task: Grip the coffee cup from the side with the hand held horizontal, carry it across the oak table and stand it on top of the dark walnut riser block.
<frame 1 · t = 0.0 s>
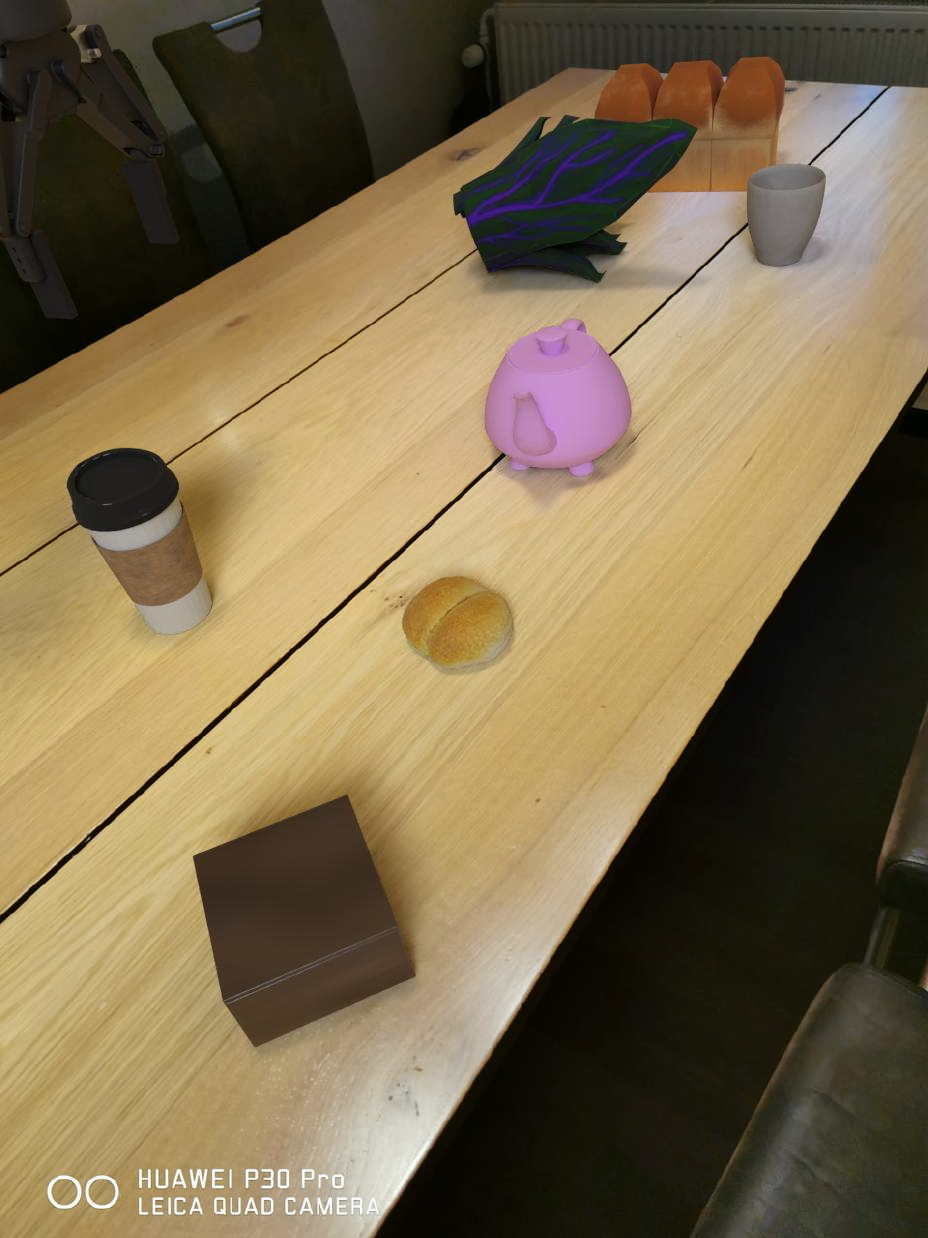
hand: (116, 277, 77), 25 cm above the table, tool pointing down, fingers open, 13 cm apart
decorative plant: (576, 265, 125), on the table
bread roll: (459, 635, 78), on the table
mug: (779, 252, 120), on the table
teapot: (557, 454, 94), on the table
bread: (687, 177, 142), on the table
coffee cup: (180, 613, 84), on the table
riser: (314, 940, 59), on the table
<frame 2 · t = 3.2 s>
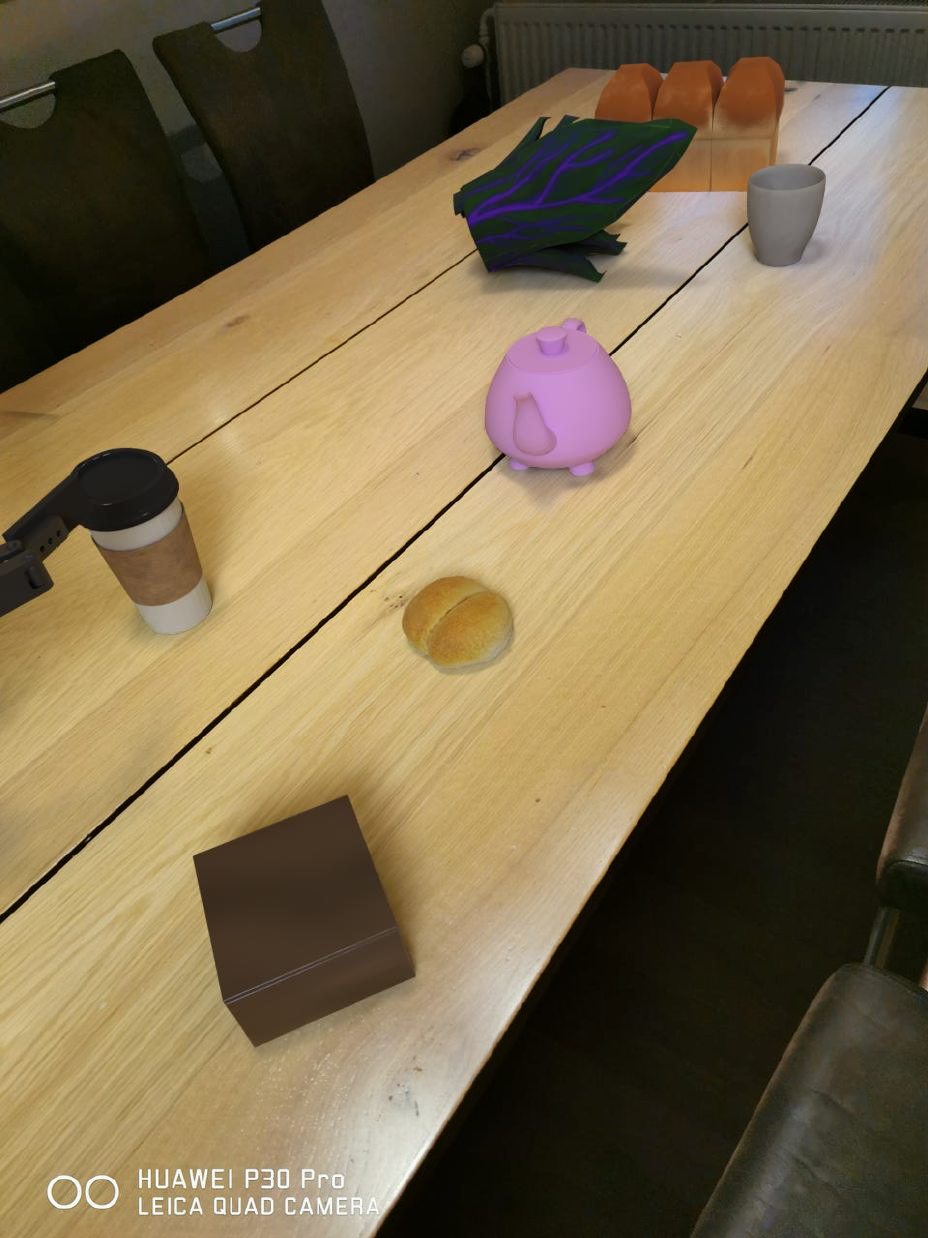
hand: (4, 482, 65), 20 cm above the table, tool horizontal, fingers open, 13 cm apart
nothing on the table moved.
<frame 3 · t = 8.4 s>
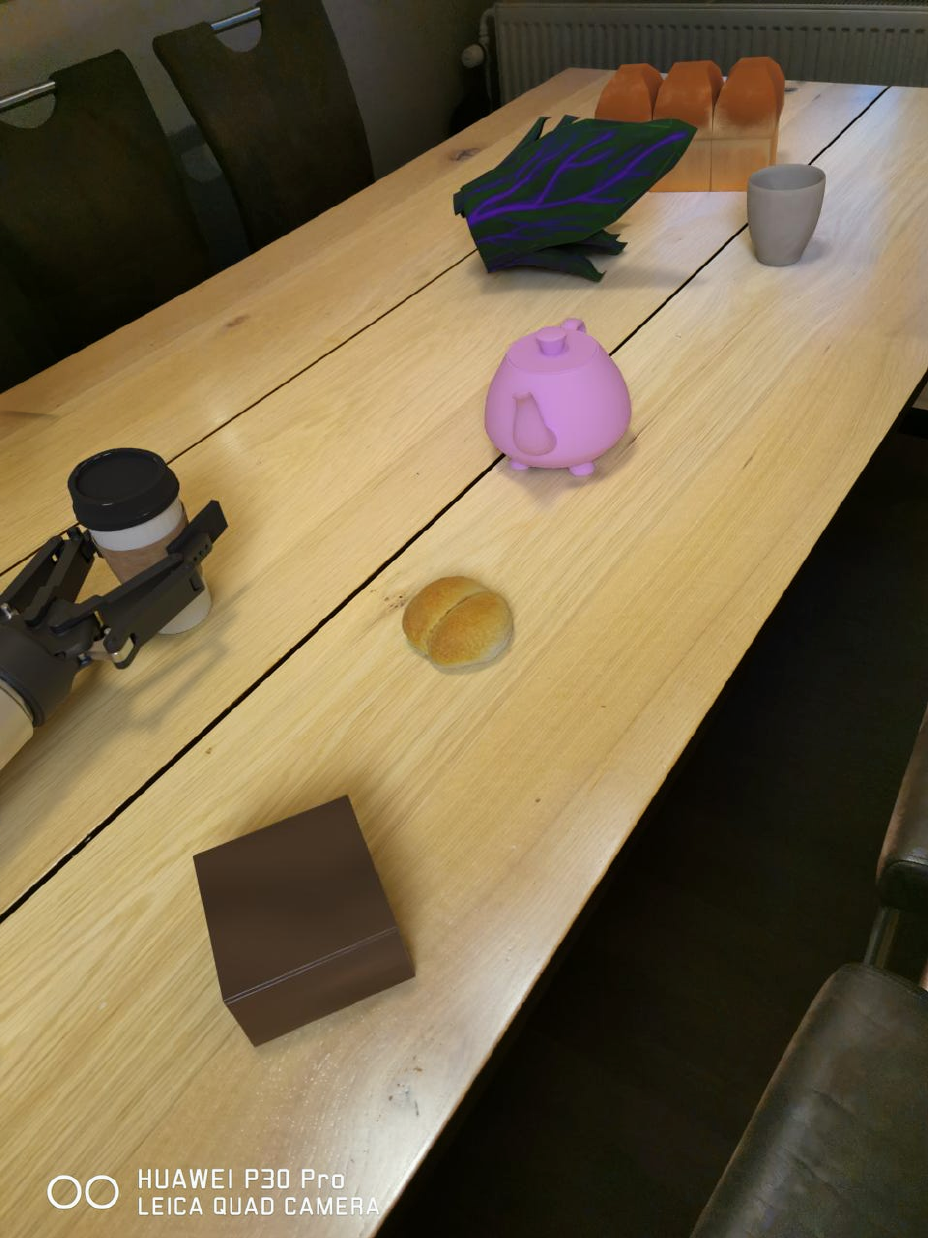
hand: (180, 506, 82), 8 cm above the table, tool horizontal, fingers closed on coffee cup, 8 cm apart
coffee cup: (180, 612, 84), on the table, touching gripper
everything else where it was.
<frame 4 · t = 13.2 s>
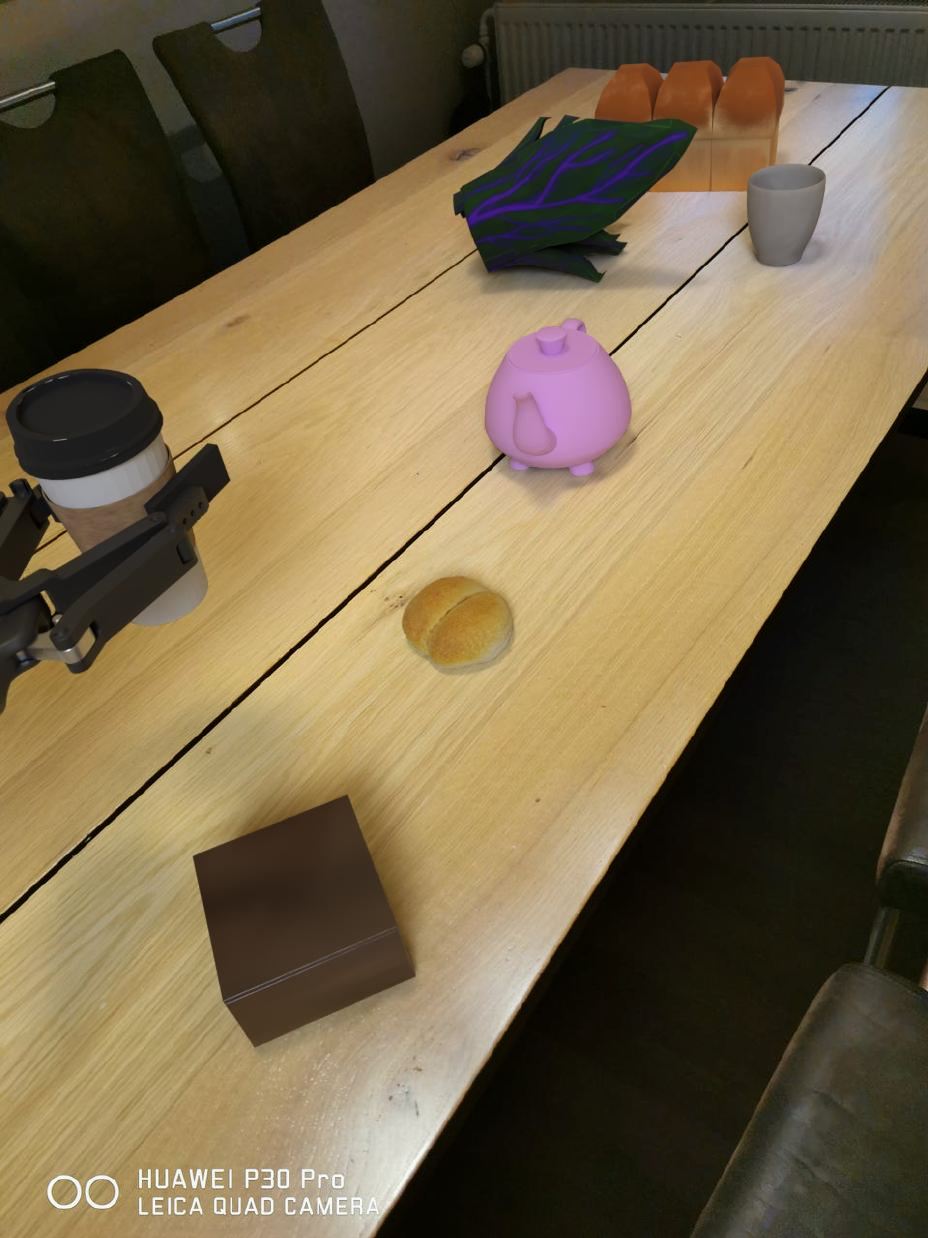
hand: (166, 454, 61), 22 cm above the table, tool horizontal, fingers closed on coffee cup, 8 cm apart
coffee cup: (166, 598, 63), point 14 cm above the table, touching gripper
everything else where it was.
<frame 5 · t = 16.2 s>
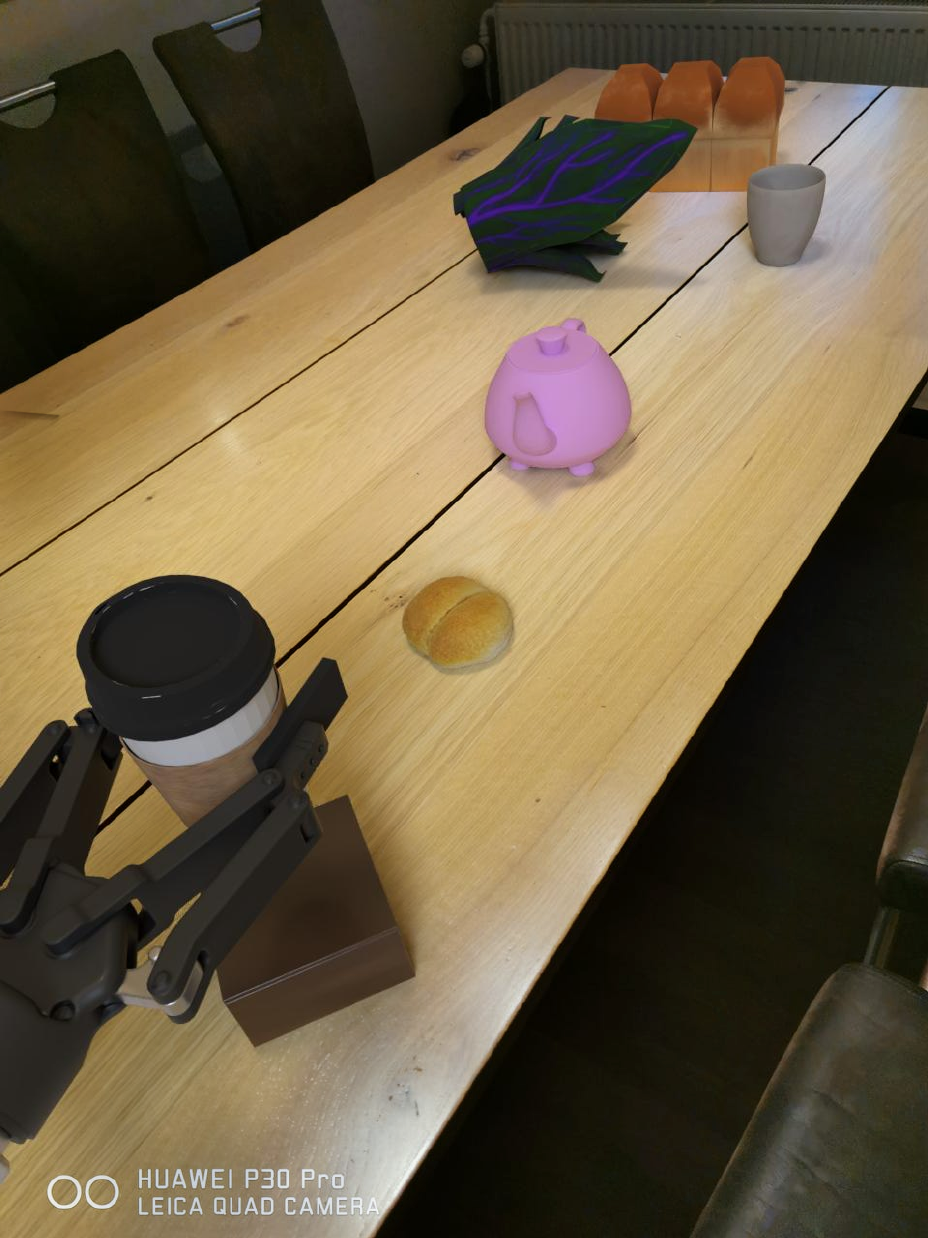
hand: (265, 661, 49), 20 cm above the table, tool horizontal, fingers closed on coffee cup, 8 cm apart
coffee cup: (260, 829, 51), point 12 cm above the table, touching gripper
everything else where it was.
when the fingers open (14 cm above the table, at t = 18.3 s): coffee cup stays where it is, resting on riser.
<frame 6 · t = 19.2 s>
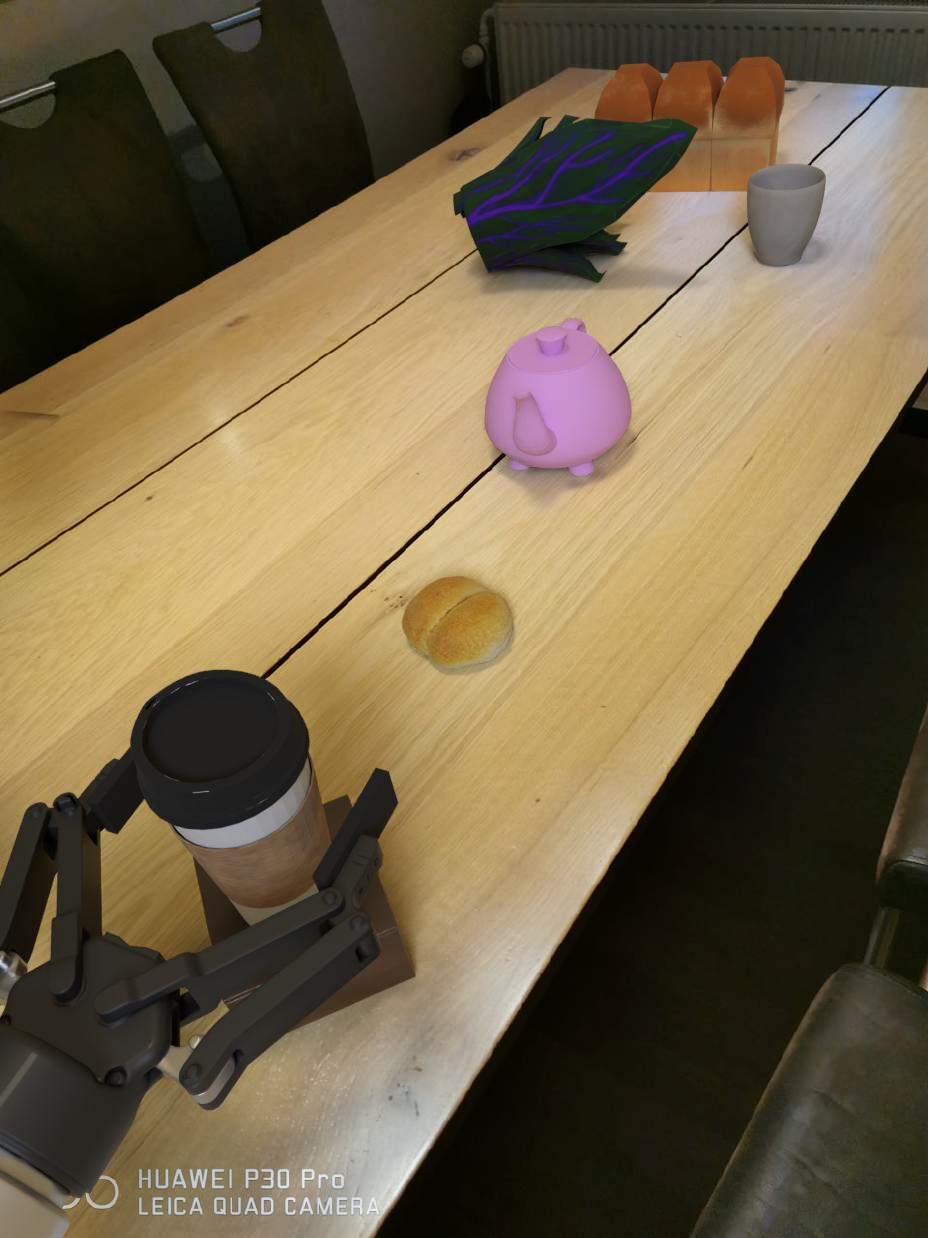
hand: (276, 753, 51), 15 cm above the table, tool horizontal, fingers open, 13 cm apart
coffee cup: (291, 892, 55), point 6 cm above the table, touching riser
everything else where it was.
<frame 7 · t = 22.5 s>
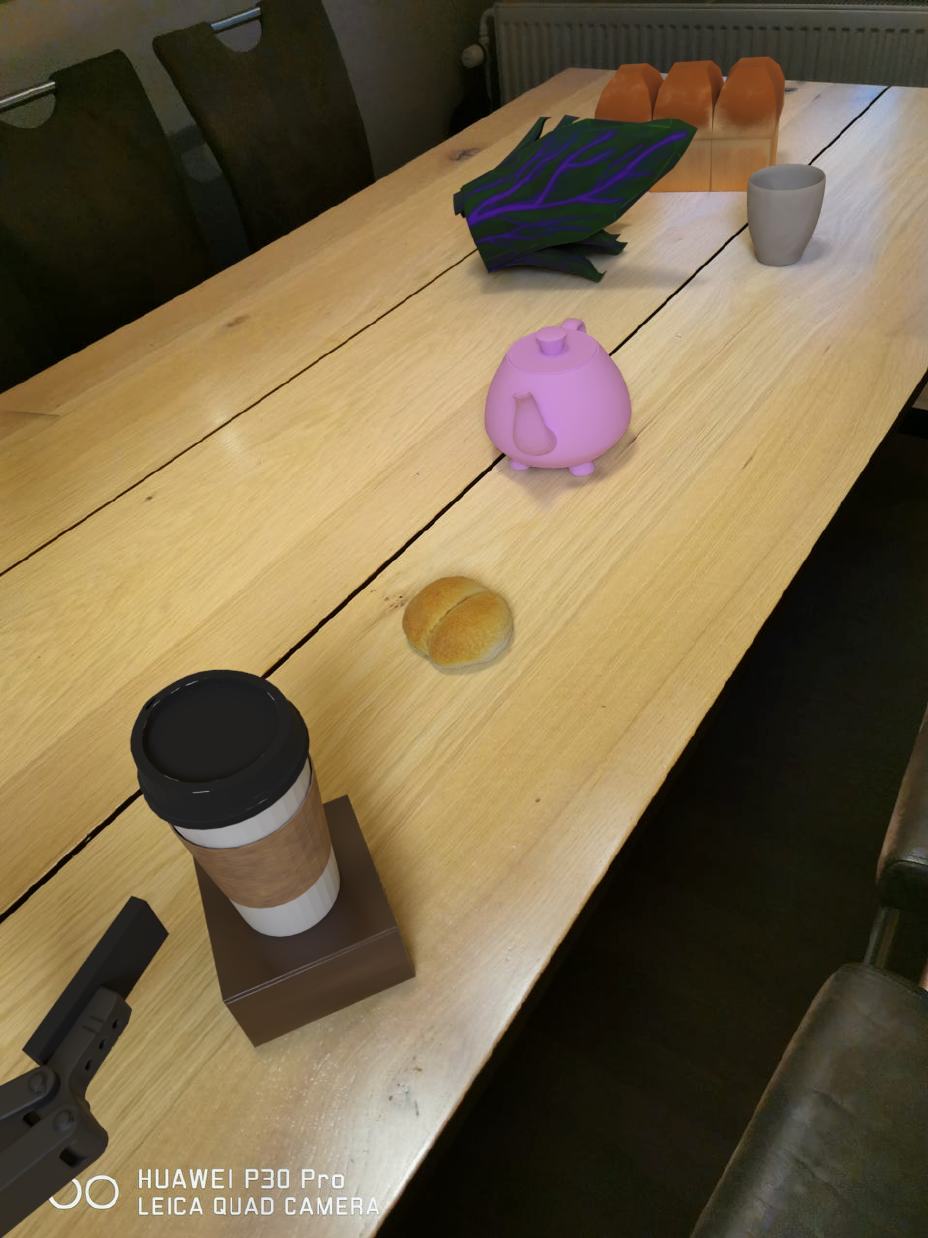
hand: (28, 867, 42), 20 cm above the table, tool horizontal, fingers open, 13 cm apart
nothing on the table moved.
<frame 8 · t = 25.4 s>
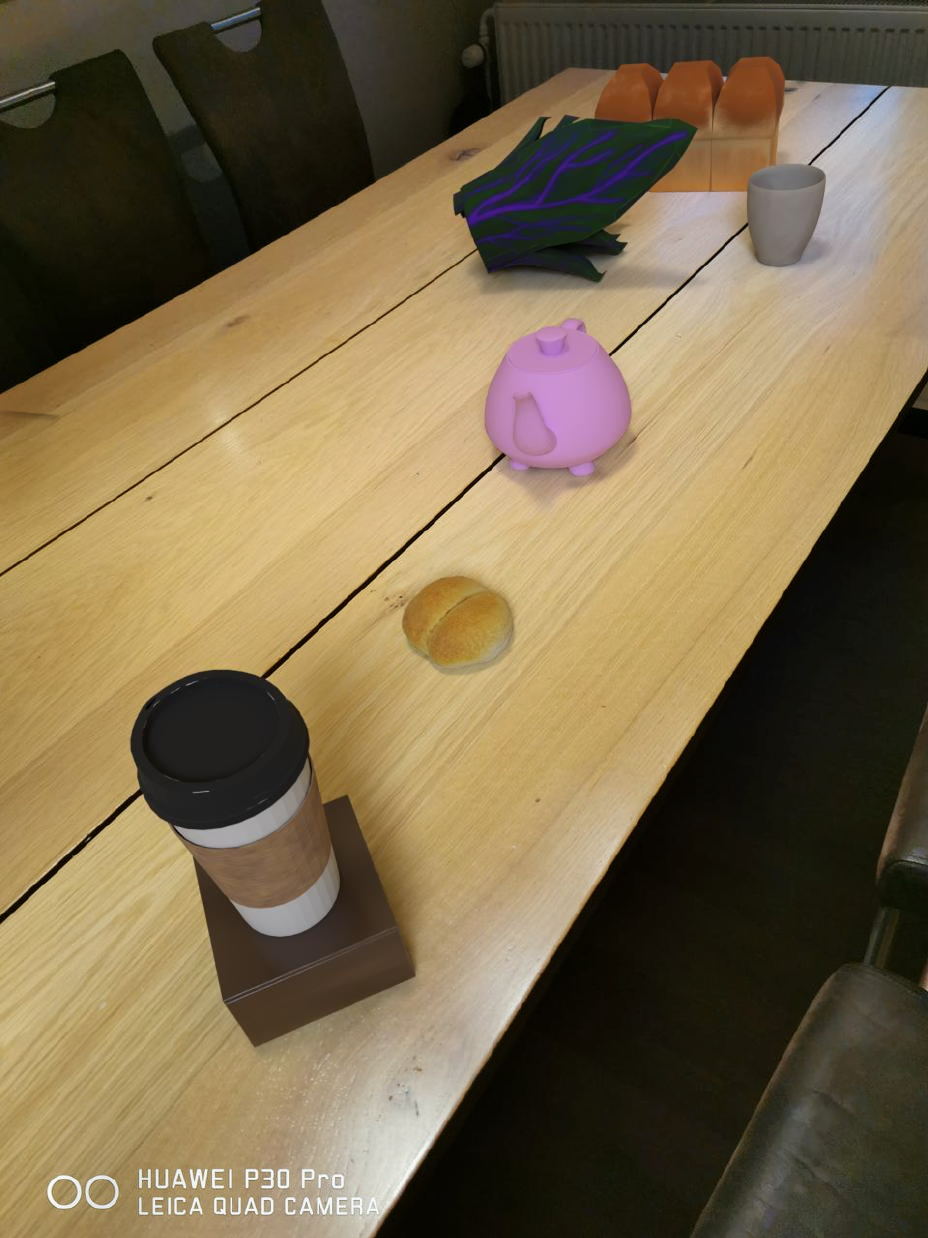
nothing on the table moved.
at the end: coffee cup 0.1 cm off-centre on the riser, point 5.8 cm above the riser's base; coffee cup tilted 0°; the gripper is holding nothing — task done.
